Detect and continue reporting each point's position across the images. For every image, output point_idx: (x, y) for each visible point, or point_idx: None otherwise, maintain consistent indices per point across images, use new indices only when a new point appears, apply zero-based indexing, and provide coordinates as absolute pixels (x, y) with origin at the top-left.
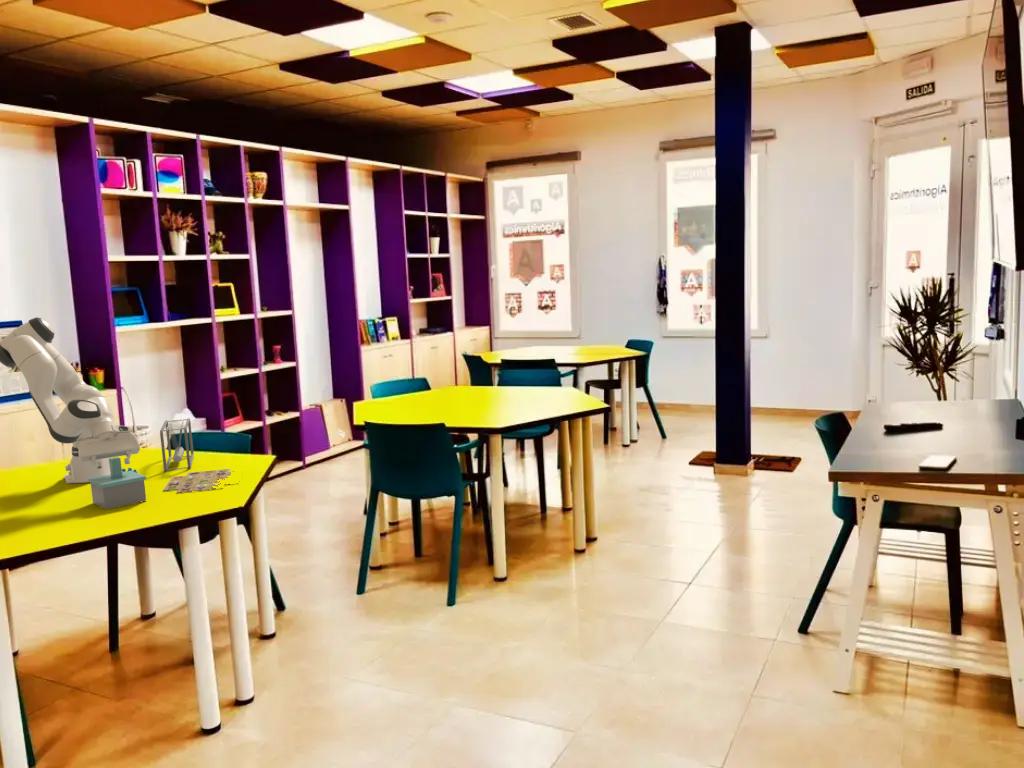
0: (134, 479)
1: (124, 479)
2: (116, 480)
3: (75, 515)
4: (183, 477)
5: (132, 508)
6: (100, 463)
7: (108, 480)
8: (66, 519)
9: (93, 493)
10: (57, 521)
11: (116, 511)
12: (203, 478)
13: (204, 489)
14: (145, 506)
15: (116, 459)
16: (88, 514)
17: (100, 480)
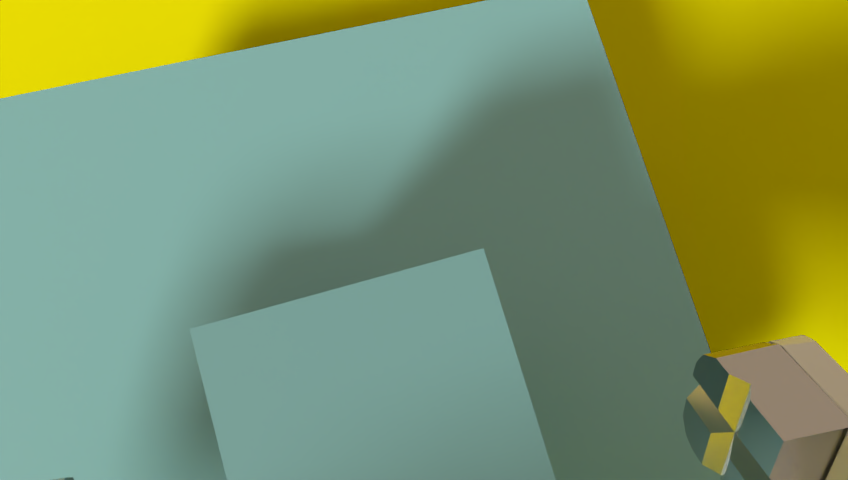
0: (65, 92)
1: (228, 121)
2: (359, 138)
3: (722, 116)
4: None
5: (221, 23)
6: (760, 402)
7: (484, 233)
8: (777, 24)
9: None
10: (838, 7)
11: (374, 10)
12: None
13: None
14: (87, 16)
15: (328, 293)
16: (615, 73)
17: (609, 327)
